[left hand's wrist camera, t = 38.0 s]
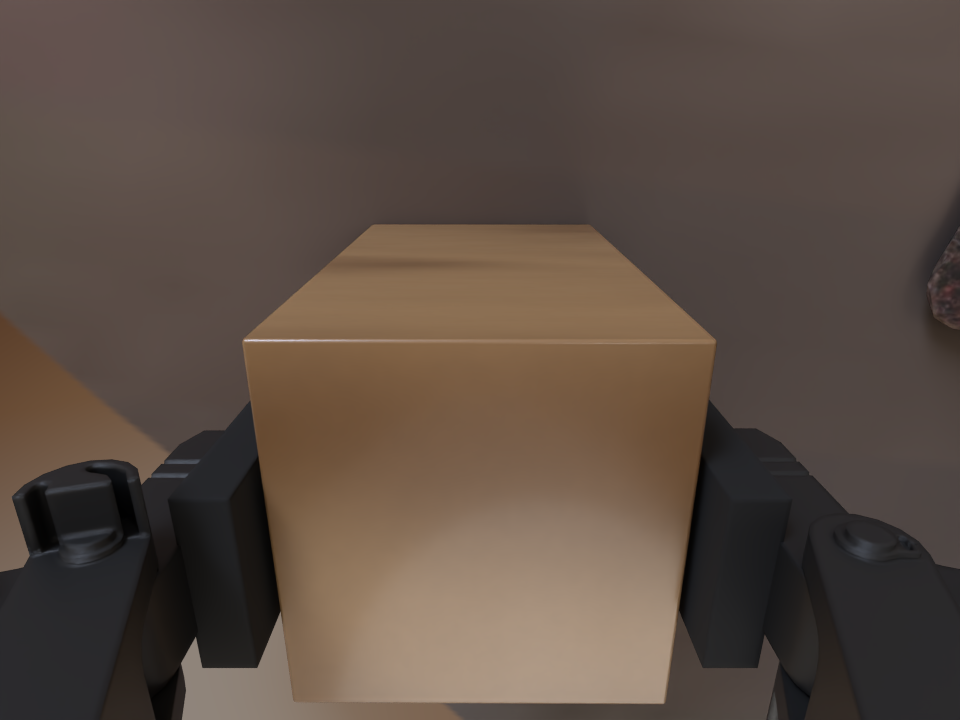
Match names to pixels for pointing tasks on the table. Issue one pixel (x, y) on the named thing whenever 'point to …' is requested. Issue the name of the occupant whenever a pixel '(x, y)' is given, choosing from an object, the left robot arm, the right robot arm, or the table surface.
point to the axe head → (946, 285)
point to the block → (479, 468)
